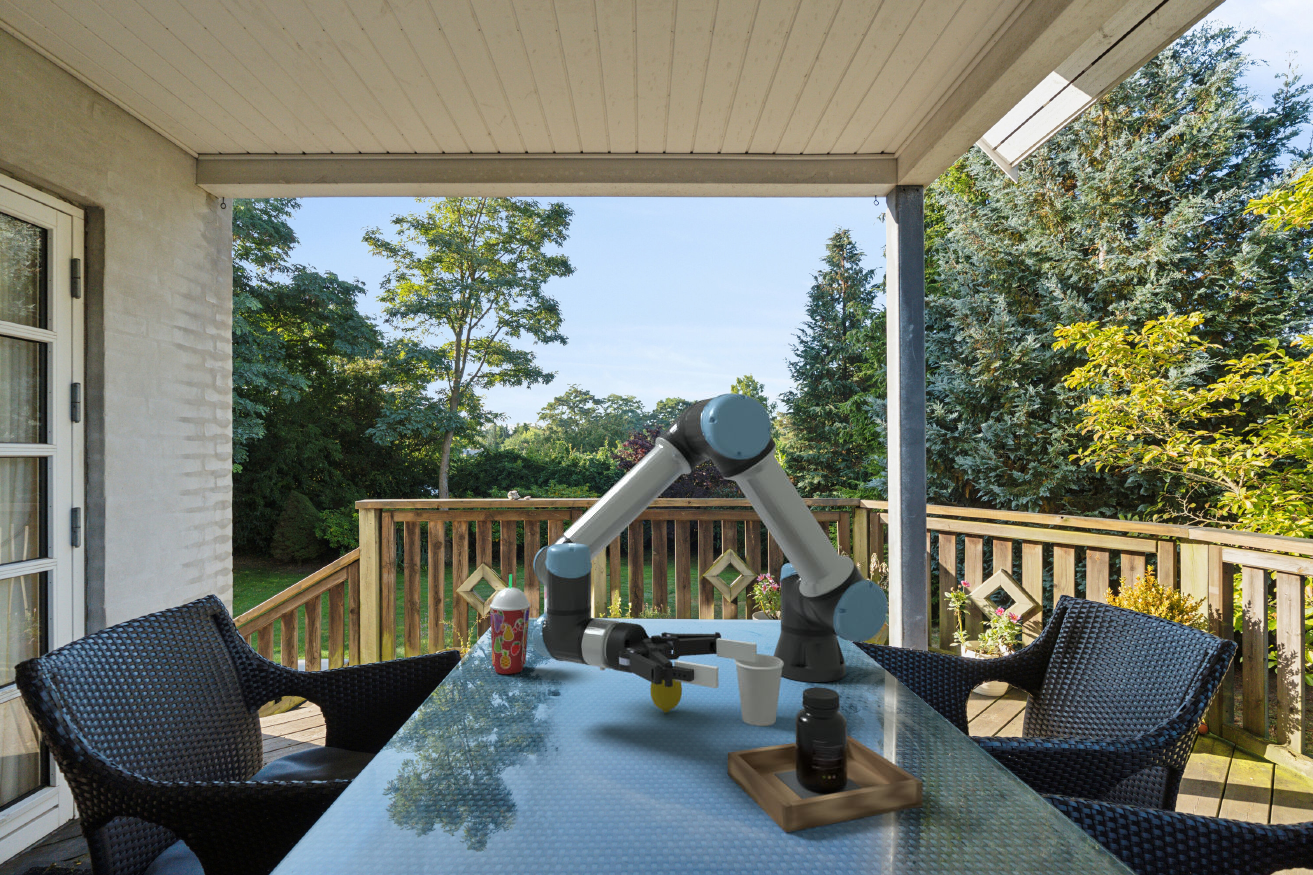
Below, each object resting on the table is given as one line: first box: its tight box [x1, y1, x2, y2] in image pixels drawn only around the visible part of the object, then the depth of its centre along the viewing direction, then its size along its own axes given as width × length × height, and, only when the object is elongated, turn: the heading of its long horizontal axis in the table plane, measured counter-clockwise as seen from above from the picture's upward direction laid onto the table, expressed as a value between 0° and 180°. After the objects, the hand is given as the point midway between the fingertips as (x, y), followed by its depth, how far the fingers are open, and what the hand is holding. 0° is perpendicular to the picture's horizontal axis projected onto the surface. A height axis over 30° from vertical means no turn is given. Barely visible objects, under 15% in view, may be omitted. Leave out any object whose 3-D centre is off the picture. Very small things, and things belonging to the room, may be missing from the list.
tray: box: [727, 734, 924, 834], centre depth 91 cm, size 20×16×3 cm
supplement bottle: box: [794, 686, 848, 793], centre depth 91 cm, size 7×7×12 cm
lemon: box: [649, 679, 683, 714], centre depth 119 cm, size 6×6×8 cm
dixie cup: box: [734, 653, 784, 727], centre depth 116 cm, size 8×8×10 cm
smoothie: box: [489, 573, 531, 675], centre depth 143 cm, size 8×8×20 cm
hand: (737, 664), depth 99 cm, fingers open, 13 cm apart
